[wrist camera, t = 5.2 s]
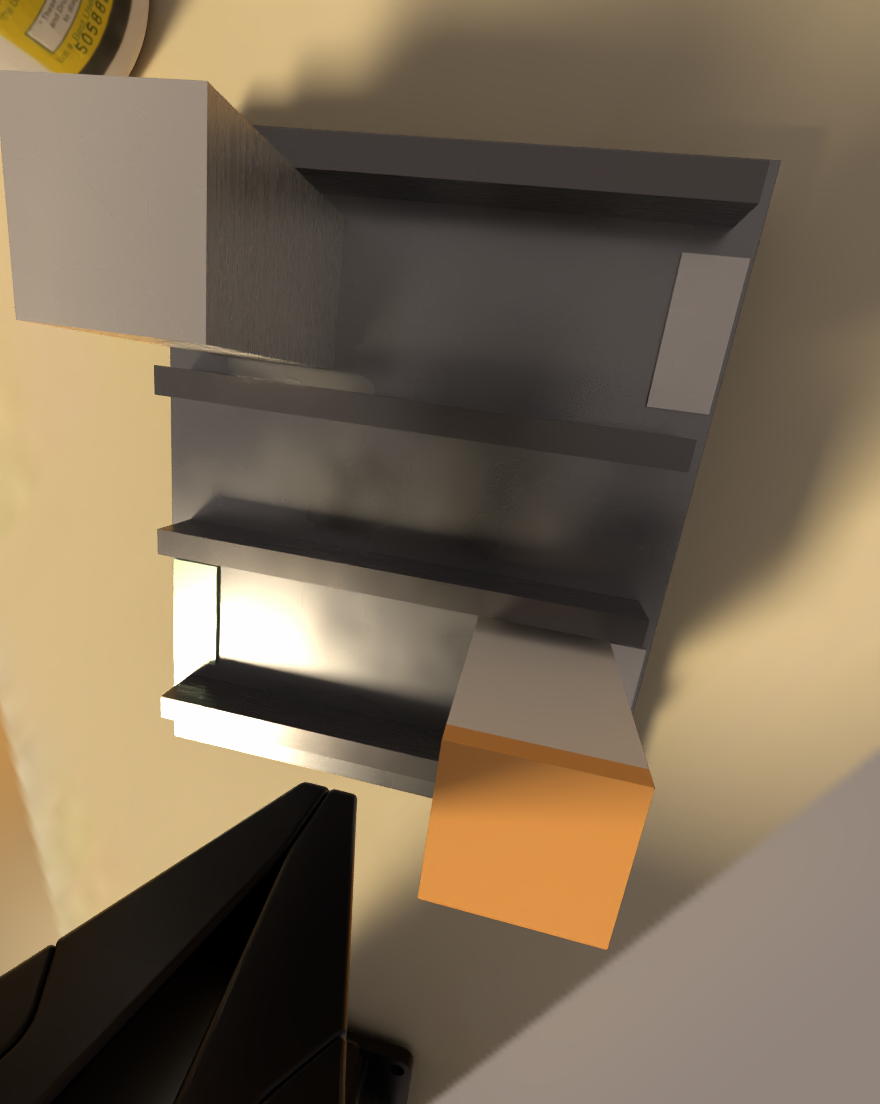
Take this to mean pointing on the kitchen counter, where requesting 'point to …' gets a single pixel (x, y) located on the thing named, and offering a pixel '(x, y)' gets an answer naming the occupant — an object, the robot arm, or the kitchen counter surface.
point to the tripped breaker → (537, 785)
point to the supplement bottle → (72, 35)
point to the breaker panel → (386, 389)
